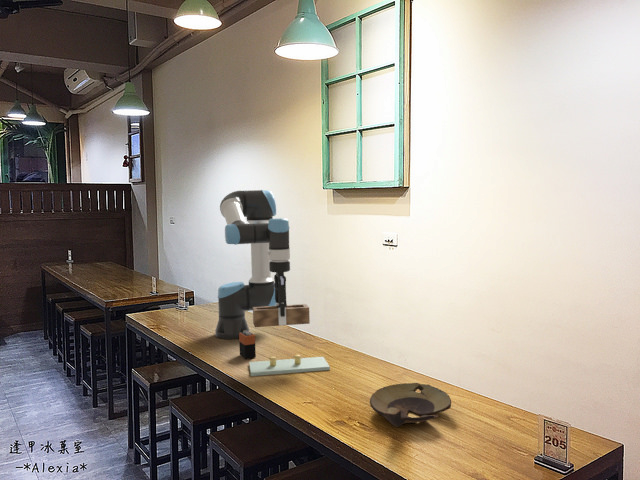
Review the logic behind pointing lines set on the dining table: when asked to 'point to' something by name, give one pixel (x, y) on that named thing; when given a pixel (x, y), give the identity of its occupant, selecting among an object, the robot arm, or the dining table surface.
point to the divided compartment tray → (270, 315)
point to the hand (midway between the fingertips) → (281, 322)
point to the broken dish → (409, 402)
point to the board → (288, 365)
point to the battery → (247, 344)
